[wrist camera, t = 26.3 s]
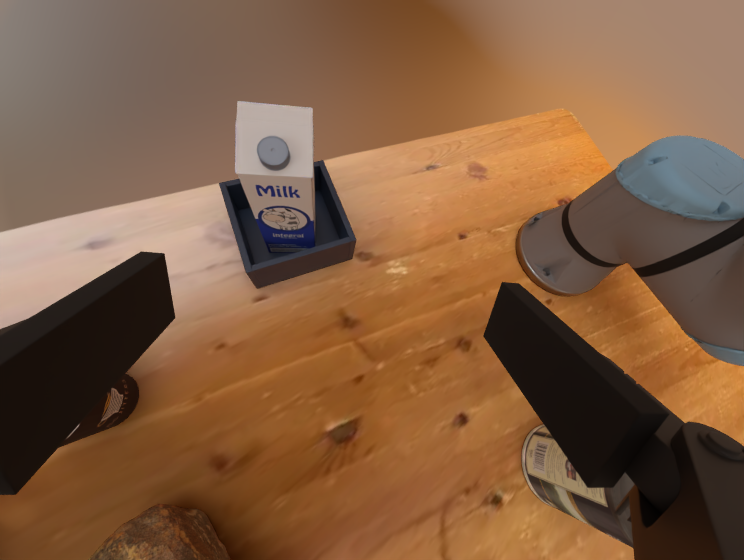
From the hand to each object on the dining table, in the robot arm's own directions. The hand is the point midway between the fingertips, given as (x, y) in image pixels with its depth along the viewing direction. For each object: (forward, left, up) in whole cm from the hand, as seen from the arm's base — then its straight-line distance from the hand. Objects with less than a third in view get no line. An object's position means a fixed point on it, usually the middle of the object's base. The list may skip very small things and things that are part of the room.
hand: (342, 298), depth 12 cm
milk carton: (+7, -19, -31) cm, 37 cm away
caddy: (+7, -19, -32) cm, 37 cm away
